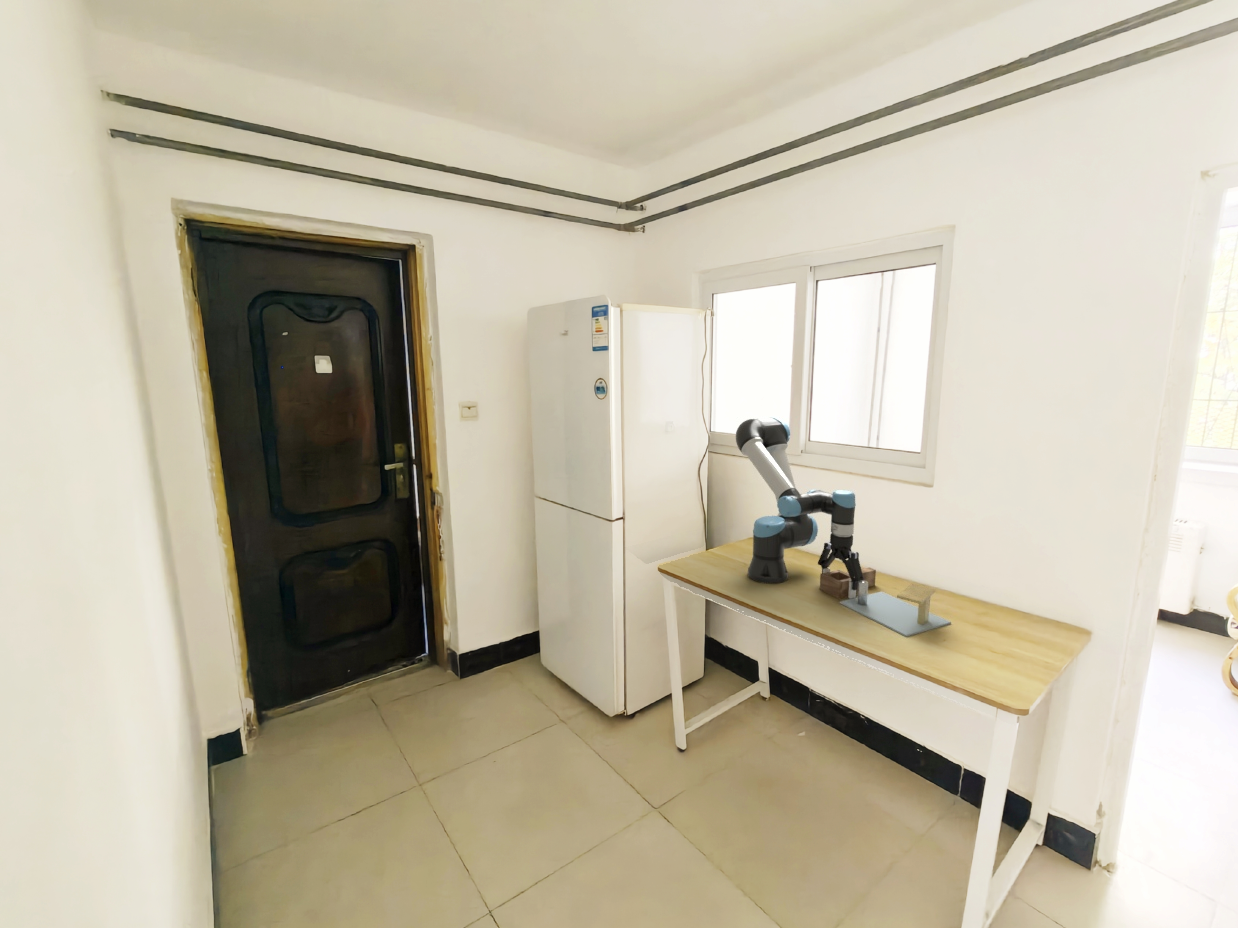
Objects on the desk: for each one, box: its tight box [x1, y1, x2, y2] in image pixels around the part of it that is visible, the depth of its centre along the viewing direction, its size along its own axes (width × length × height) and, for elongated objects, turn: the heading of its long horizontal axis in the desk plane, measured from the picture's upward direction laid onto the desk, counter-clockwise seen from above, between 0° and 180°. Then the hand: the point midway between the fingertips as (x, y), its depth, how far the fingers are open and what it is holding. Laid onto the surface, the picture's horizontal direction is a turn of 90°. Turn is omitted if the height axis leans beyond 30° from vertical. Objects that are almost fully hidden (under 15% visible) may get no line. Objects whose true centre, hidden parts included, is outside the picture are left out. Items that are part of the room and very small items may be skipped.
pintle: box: [857, 580, 869, 606], centre depth 181 cm, size 3×3×8 cm
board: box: [839, 591, 952, 638], centre depth 176 cm, size 26×20×1 cm
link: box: [819, 567, 877, 599], centre depth 195 cm, size 21×9×6 cm, turn 113°
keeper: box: [896, 583, 936, 625], centre depth 169 cm, size 7×13×10 cm, turn 133°
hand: (838, 591), depth 193 cm, fingers open, 12 cm apart
